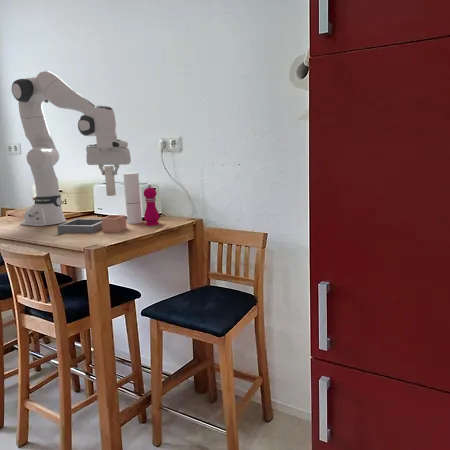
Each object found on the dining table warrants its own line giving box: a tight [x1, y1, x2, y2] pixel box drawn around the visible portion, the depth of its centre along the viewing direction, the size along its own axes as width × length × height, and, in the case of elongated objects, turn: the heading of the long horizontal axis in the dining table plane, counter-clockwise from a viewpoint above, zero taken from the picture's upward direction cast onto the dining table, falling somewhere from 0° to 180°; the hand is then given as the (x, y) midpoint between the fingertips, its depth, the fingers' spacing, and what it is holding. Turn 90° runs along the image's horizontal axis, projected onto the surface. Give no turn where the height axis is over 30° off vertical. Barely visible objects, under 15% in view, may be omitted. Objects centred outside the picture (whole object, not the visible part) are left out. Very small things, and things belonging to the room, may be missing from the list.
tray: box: [56, 218, 102, 235], centre depth 222 cm, size 18×16×4 cm
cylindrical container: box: [122, 171, 143, 225], centre depth 230 cm, size 7×7×25 cm
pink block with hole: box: [100, 214, 128, 233], centre depth 216 cm, size 8×8×7 cm
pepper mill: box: [143, 184, 160, 227], centre depth 224 cm, size 7×7×20 cm
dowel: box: [103, 165, 117, 197], centre depth 212 cm, size 4×4×13 cm
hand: (109, 174), depth 212 cm, fingers closed on dowel, 4 cm apart
